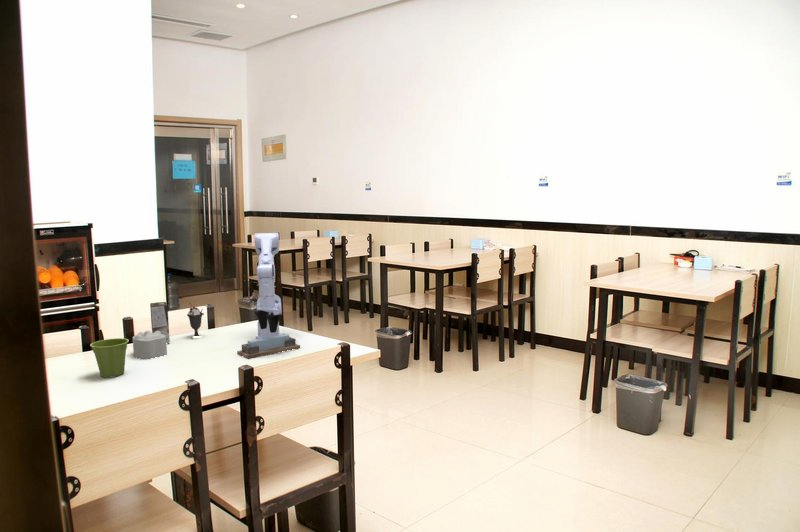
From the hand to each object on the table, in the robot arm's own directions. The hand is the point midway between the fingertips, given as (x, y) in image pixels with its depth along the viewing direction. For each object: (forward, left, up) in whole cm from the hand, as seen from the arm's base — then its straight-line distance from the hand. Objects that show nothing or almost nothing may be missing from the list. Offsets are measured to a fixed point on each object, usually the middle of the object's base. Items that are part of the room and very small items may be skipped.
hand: (268, 330), depth 232 cm
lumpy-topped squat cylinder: (-27, -36, -8) cm, 46 cm away
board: (0, 0, -8) cm, 8 cm away
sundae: (-41, -12, -8) cm, 44 cm away
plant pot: (-9, -54, -8) cm, 56 cm away
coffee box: (-43, -26, -8) cm, 51 cm away
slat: (0, 0, -7) cm, 7 cm away
